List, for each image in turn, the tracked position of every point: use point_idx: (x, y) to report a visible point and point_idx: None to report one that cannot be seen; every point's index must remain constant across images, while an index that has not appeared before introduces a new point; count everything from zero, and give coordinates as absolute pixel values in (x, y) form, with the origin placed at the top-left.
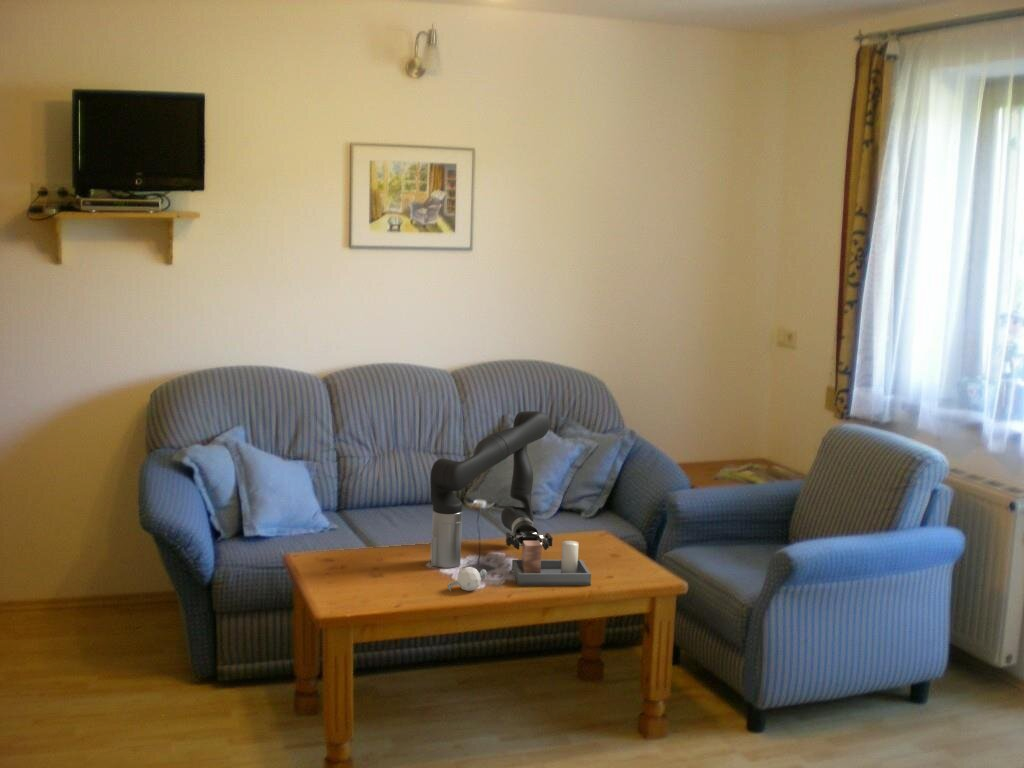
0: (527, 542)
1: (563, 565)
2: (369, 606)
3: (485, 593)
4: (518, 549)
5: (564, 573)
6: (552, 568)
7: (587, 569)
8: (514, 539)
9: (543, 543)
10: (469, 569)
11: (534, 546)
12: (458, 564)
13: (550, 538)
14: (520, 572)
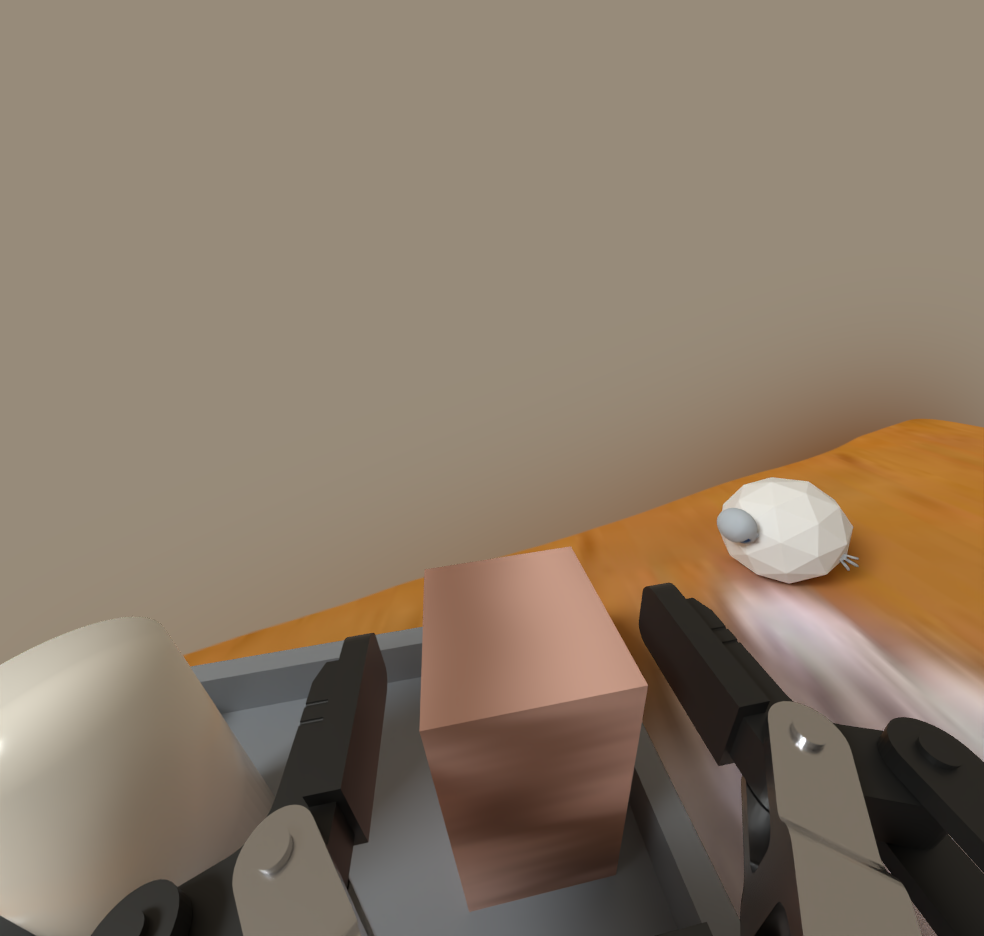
0: (569, 623)
1: (252, 764)
2: (907, 449)
3: (680, 549)
4: (647, 638)
5: (315, 656)
6: None
7: None
8: (788, 704)
9: (361, 757)
10: (781, 480)
11: (491, 566)
12: None
13: (156, 900)
14: None
